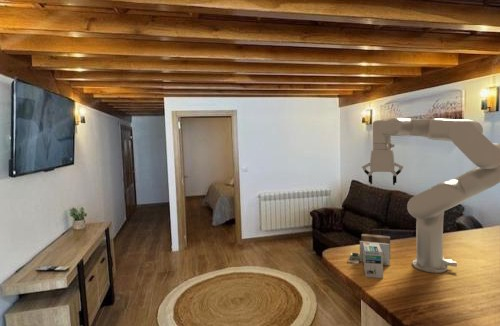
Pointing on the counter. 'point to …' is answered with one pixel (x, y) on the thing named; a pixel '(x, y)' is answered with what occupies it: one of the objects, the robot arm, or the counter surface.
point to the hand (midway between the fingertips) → (382, 184)
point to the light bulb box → (373, 260)
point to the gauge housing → (370, 239)
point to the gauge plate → (384, 248)
